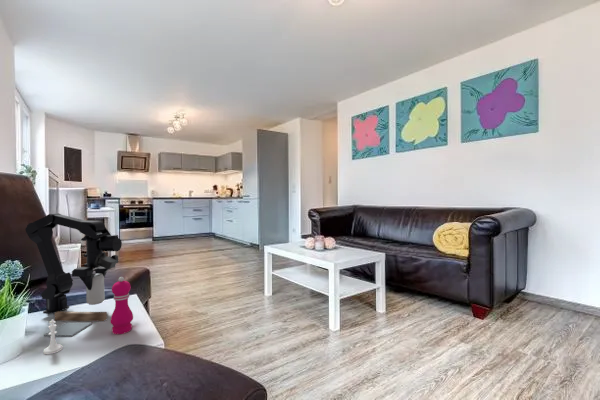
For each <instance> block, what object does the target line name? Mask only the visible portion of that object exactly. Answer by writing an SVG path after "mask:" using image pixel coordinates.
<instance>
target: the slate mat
mask: <svg viewBox="0 0 600 400" xmlns="http://www.w3.org/2000/svg"><path fill="white" fill-rule="evenodd" d="M92 324H93V322H68V321H67V322H65V323H63V324H61V325H59V326H58V327H57V326H56V329H55V331H57V333H56V334H55V337H68V338H69V337H70V338H71V337H74V336H75V335H76V334H78V333H80V332H82V331H83V330H85V329H86V328H88V327H90V326H91V325H92ZM50 332H51V331H50V330H49V331H48V332H46V333H44V335H43V337H51V335H49V333H50Z"/></svg>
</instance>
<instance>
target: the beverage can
mask: <svg viewBox="0 0 600 400" xmlns="http://www.w3.org/2000/svg"><path fill="white" fill-rule="evenodd" d="M94 274H95V275H94V277H93V280H92V288H91V290H88V288H87V287H86V286H85V288H86V289H85V291H86V292H85V293H86V294H85V295H86V304H88V305H89V306H93V305H95V306H96V305H100V304H102V303H103V302H104V301H105V298H106V297H105V296H106V295H105V278H104V276H103V274H102V273H94Z"/></svg>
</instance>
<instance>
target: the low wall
mask: <svg viewBox="0 0 600 400" xmlns="http://www.w3.org/2000/svg"><path fill="white" fill-rule="evenodd" d="M106 319H108V312H107V311H58V312H56V313H54V321H61V322H62V321H63V322H64V321H65V322H66V321H67V322H68V321H69V322H71V321H72V322H105V321H107V320H106ZM104 320H105V321H104Z"/></svg>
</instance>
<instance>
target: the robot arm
mask: <svg viewBox="0 0 600 400" xmlns="http://www.w3.org/2000/svg"><path fill="white" fill-rule="evenodd" d="M57 226H62V227H65V228H69V229H74V230H77V231H79V233H80V234H82V235H84V237H82V238H81V241H82V242H85V241H86V242H85V243H86V253H84V254H83V257H84V258H86V263H84V264H83V266H80V267H76V268H74V269H73V270H72V271H71V273H70V271H69V272H65V271H64V270H63V268H62V266H61V263H60V261H59V257H58V255H57V253H56V249H55V247H54V244H53V242H52V238H53V234H54V231H53V229H54V228H56V227H57ZM25 233H26V235H27V237H28V239H29V240H31V241H32V242H34V244H36V246H37V249H38V252H39V255H40V257H41V259H42V263H43V266H44V268H45V270H46V273H47V278H46V281H45V284H46V288H45V290H43V292H41V294H40V297H41V299H42V300H45V304H46V305H45V308H46V310H43V311H42V313H49V314H50V313H51V314H55V313H56V312H58V311H60V312H63V311H65V310H66V309H68V308H70V305H68V298H67V294H69V293H70V291H71V289H72V286H73V284H74V283H73V281H74V280H73V277H77V278H79V279H81V281H82V282H83V284H84V285H85V288H86V287H87V288H88V290H91V288H92V280H93V277H94V275H95V274H96V273H102V274H103V276H104V279H105V277H106V274H107V272H108V271H110V270H111V269H113V268H115V267H116V265H117V264H118V263H119V255H117V254H113V255H111V256H110V255H109V256H107V255H106V254H107V253H106V252H119V251H120V250H121V248H122V245H123V243H122V240H121V238H119V235H118V234H115V235H112V234H111V233H110V231H109V230H108V229H107V227H106V226H105V223H104V222H103V221H101V220H88V219H87V220H85V219H80V218H76V217H72V216H67V215H64V214H62V213H58V212H55V213H49V214H47V215H45V216H44V217H41V218H39V219H37V220H34V221H32V222H29V223H28V224H27V226H26V227H25ZM94 271H95V273H94Z"/></svg>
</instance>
